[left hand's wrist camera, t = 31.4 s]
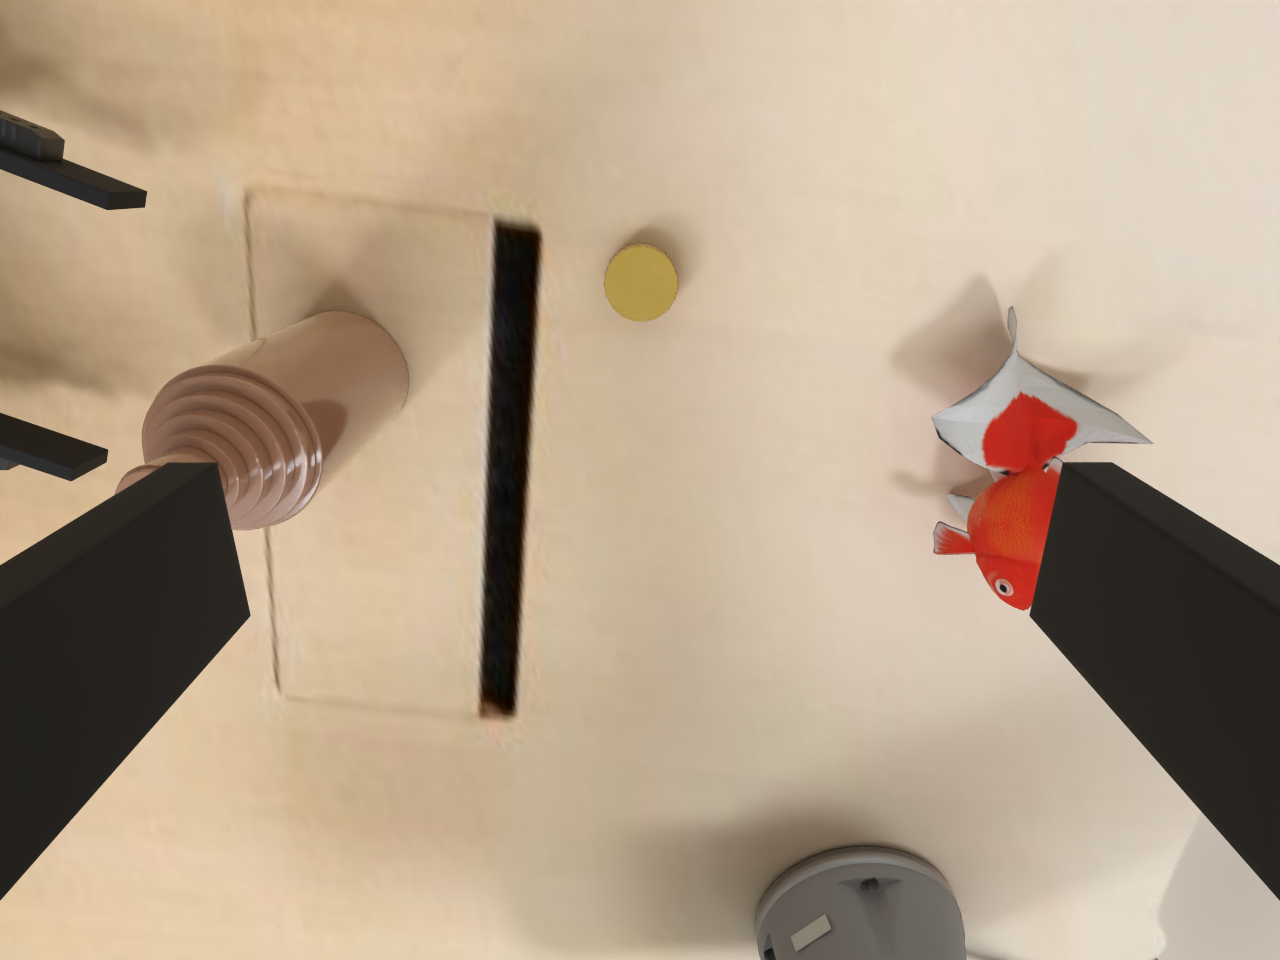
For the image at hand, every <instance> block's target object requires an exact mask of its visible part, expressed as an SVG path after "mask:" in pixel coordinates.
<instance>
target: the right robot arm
mask: <svg viewBox="0 0 1280 960" xmlns="http://www.w3.org/2000/svg"><path fill="white" fill-rule="evenodd" d="M64 142H65V140H64V139H62V138H61V137H60V136H59V135H58V134H56V133H55V132H54V131H52V130H49V129H47V128H44V127H41V126H39V125H36V124H34V123H31V122H29V121H26V120H24V119H21V118H19V117H16V116H13V115H11V114H8V113H6V112H3V111H1V110H0V169H1V170H4V171H7V172H9V173H12V174H15V175H17V176H20V177H22V178H25V179H28V180H30V181H33V182H35V183H38V184H41V185H43V186H46V187H49V188H51V189H54V190H56V191H59V192H62V193H64V194H67V195H69V196H72V197H75V198H77V199H80V200H83V201H85V202H88V203H90V204H93V205H96V206H98V207H101V208H104V209H106V210H115V209H129V208H144V207H145V203H146V196H147V191H145V190H142V189H140V188H137V187H135V186H132V185H129V184H127V183H124V182H122V181H119V180H116V179H114V178H111V177H109V176H106V175H104V174H101V173H98V172H96V171H93V170H91V169H88V168H86V167H83V166H80V165H78V164H75V163H73V162H70V161H67V160H65V159H63V151H64ZM107 455H108V449H105V448H102V447H99V446H96V445H93V444H90V443H87V442H84V441H81V440H78V439H75V438H72V437H70V436H67V435H64V434H61V433H58V432H55V431H52V430H49V429H46V428H43V427H40V426H37V425H34V424H31V423H28V422H25V421H23V420H20V419H17V418H14V417H11V416H8V415H5V414H2V413H0V470H9V469H11V468H13V467H15V466H18V465H20V464H21V465H24V466H27V467H30V468H33V469H36V470H39V471H42V472H45V473H48V474H51V475H54V476H57V477H60V478H63V479H66V480H69V481H73V480H75V479H76V478H78V477H80V476H82V475H84V474H86V473H88V472H89V471H91V470H93V469H95V468H97V467H99V466H100V465H102V464H104V463H106V462H107Z"/></svg>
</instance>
